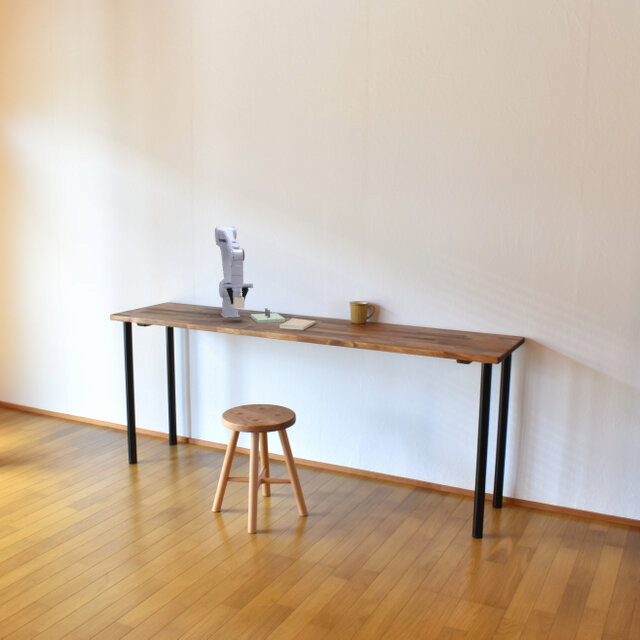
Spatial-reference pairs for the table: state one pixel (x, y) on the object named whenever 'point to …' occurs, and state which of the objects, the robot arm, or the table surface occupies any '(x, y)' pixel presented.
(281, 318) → the pin plate
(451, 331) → the table surface
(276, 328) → the table surface
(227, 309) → the robot arm
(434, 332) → the table surface
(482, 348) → the table surface
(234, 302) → the beige hollow block
